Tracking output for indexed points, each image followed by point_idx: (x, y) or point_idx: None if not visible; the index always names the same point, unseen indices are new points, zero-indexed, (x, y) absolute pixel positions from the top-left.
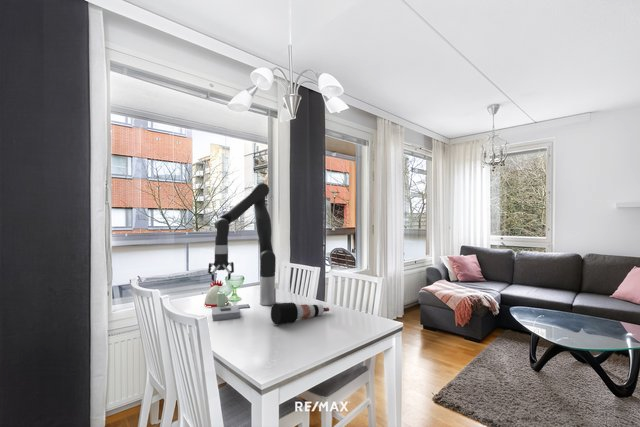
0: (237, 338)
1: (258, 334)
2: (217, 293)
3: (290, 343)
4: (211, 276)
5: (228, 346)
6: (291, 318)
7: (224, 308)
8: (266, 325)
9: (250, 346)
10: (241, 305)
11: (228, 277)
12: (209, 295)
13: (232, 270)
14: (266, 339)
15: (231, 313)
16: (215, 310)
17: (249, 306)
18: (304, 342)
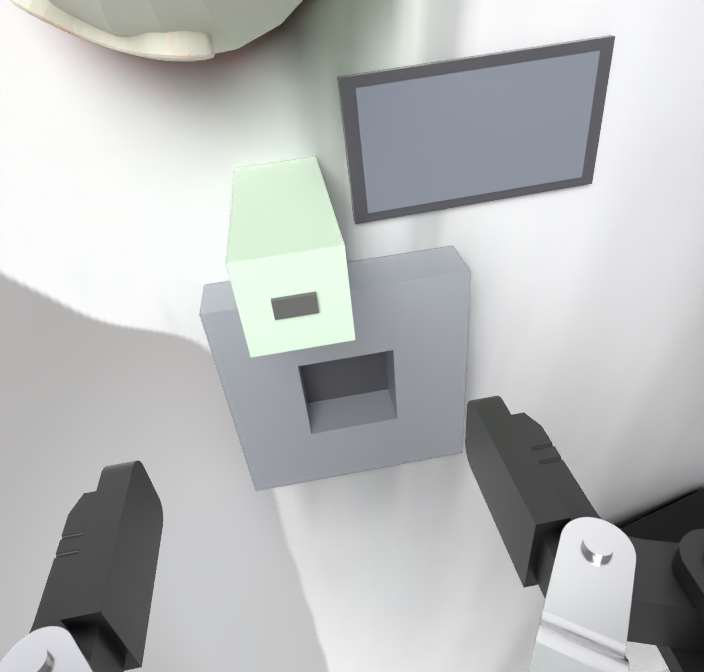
0: (405, 627)
1: (495, 601)
2: (243, 327)
3: None
4: (55, 589)
5: (369, 667)
6: None
7: (336, 359)
8: None
9: (444, 664)
10: (520, 98)
11: (494, 505)
12: (28, 9)
13: (693, 668)
14: (511, 629)
15: (395, 460)
16: (258, 405)
17: (593, 156)
18: None
